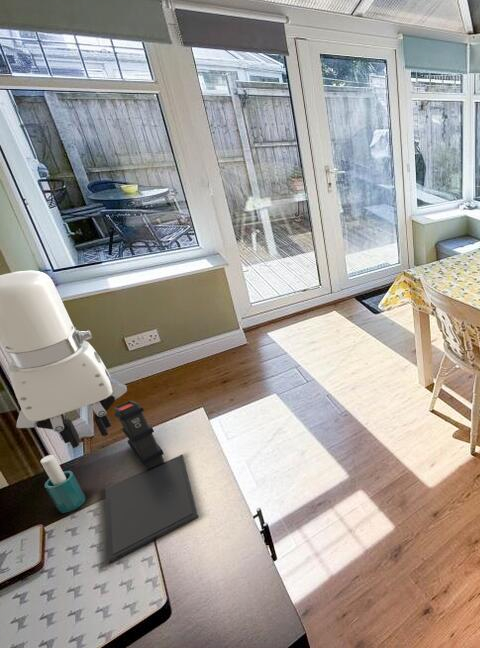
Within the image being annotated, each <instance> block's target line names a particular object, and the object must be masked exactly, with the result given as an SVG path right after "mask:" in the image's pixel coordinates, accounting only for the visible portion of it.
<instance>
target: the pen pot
mask: <svg viewBox="0 0 480 648" xmlns="http://www.w3.org/2000/svg"><path fill="white" fill-rule="evenodd" d="M63 473H64V475H65V476H66V478H67V480H66V481H64V482H63V483H61V484H59V485H56V486H54V485H53V483H52V481H51V480H50V478H49V477H48V479H47V480H46V482H44V488H45V490H46V492H47V494H48V496H49V497H50V499H51V500H52V503H53V504H54V505H55V507H56V509H57V510H58V511H59V513H62V514H66V513H70V512H73V511H75V510H77V509H78V508H79V507H81V506H82V505H83V504H84V503H85V502H86V499H87V497H86V494H85V493H84V490H83V489H82V487H81V485H80V483H79V481H78V479H77V478H76V476H75V474H74V472H73V471H71V470H65V471H63Z"/></svg>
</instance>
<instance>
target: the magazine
mask: <svg viewBox="0 0 480 648" xmlns="http://www.w3.org/2000/svg"><path fill="white" fill-rule="evenodd" d="M113 409H114V411H115V412H114V413H113V415H114V417H116V418H117V419H118V420H119V422H120V423H121V426H122V428H121V431H122V432H123V433H124V435H125V436H126V437H127V439H128V440H127V441H126V442H127V444H128V445H129V447H130V448H131V450H132V452H133V453H134V454H135V456H136V458H137V459H138V460H139V462H140V463H141V465H142V466H143V467H144V468H145V470H148V469H150V468H153V467H155V466H157V465H159V464H162V463H164V462H165V459H164V457H163V455H164V454H165V453H164V451H163V448H161V447H160V445H159V444H158V443H157V441H156V438H155V436H154V434H153V433H154V432H155V430H154V428H153V427H152V426H151V425H150V424H149V423H148V421H147V419H146V417H145V415H144V413H143V412H144V411H145V409H144V407H143V406H140V404H139V402H136V401H133V400H129V401H127V402H125V403H122V404H119V405H117V406H115V407H113Z"/></svg>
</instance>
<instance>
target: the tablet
mask: <svg viewBox="0 0 480 648" xmlns="http://www.w3.org/2000/svg"><path fill="white" fill-rule="evenodd" d="M104 495H105V519H106V521H105V522H106V540H107V541H106V542H107V561H108V563H109V564H112V563H114V562H116V561H117V560H119V559H121V558H124V557H126V556H127V555H129V554H131V553H133V552H135V551H137V550H139V549H142V548H143V547H145V546H147V545H148V544H150V543H152V542H154V541H156V540H158V539H160V538H161V537H164V536H166V535H167V534H170V533H171V532H174V531H175V530H177V529H179V528H181V527H183V526H185V525H187V524H189V523H191V522H193V521H194V520H196V519H198V518H199V513H198V509H197V505H196V500H195V497H194V493H193V489H192V485H191V481H190V477H189V473H188V469H187V465H186V461H185V458H184V454H180V455H178V456H175V457H174V458H171V459H168V460H166V461H164V463H162V464H159V465H157V466H155V467H153V468H150V469H148V470H147V469H145V470H144V471H143V470H142V471H141V472H139V473H137V474H134V475H132V476H130V477H127V478H125V479H122V480H120V481H118V482H116V483H113V484H112V485H109V486H106V487H105V488H104Z"/></svg>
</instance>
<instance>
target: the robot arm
mask: <svg viewBox="0 0 480 648" xmlns="http://www.w3.org/2000/svg"><path fill="white" fill-rule="evenodd" d="M90 339H93V336H92V332H91V331H90V330H86V331H80V330H79V329H78V330H77V328H76V327H75V326H74V324H73V322H72V319H71V318H70V315H69V313H68V311H67V309H66V307H65V304H64V302H63V300H62V298H61V296H60V294H59V291H58V289H57V287H56V284H55V283H54V281H53V279H52V278H51V277H50V275H48V274H47V273H45V272H42V271H38V270H22V271H14V272H8V273H3V274H0V344H1V346H2V347H3V349H4V351H5V353H6V354H7V356H8V358H9V360H10V363H8V375H9V379H10V383H11V386H12V389H13V391H14V392H13V393H14V394H15V398H16V399H17V403H18V405H19V406H20V409H21V410H20V412H19V414H18V416H17V417H18V418H17V420H16V425H15V427H16V429H30V428H40V429H46V430H52V431H54V432H55V433H59V435H60V437H61V438H62V441H63V442H64V444H68V443H69V444H70V445H71V447H72V449H75V448H77V447H78V446H80V435H79V433H78V430H77V429H76V427H75V425H74V423H73V421H72V420H71V419H69V418H65V415H64V414H66V413H69V412H72V411H76V410H79V409H80V408H81V409H82V408H84V407H87V406H90V408H91V409H92V411H93V417H94V419H93V420H94V423H95V425H96V427H97V428H98V431H99V432H100V434H101V436H102V437H106V436H109V428H111V427H113V425H112V421H111V418H110V416H109V415H108V411H109V409H111V407H112V406H113V405H114V403H115V401H116V400H117V399H119V398H120V397H122V396H123V395H124V394H125V393H127V392H128V387H127V385H126V384H125V383H122V382H120V381H118V380H116V379H114V378H113V377H111V375H110V373H109V371H108V368H107V367H106V365H105V363H104V362H103V360H102V358H101V356H100V355H99V353H98V352H97V351H96V350H95V348H94V347H93V345H91V344H90V342H89V341H87V340H90Z"/></svg>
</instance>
